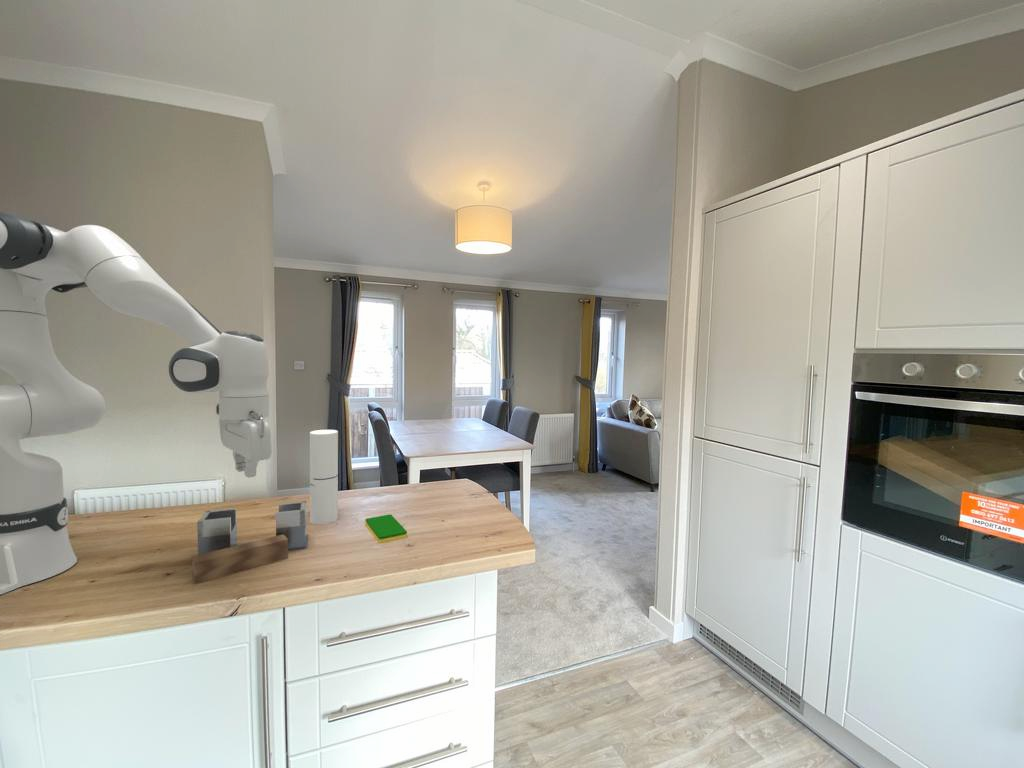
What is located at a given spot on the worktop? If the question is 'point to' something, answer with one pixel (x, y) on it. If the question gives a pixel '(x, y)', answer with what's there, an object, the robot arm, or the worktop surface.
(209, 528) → the bracket stand
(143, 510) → the worktop surface
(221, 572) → the rail
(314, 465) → the cylindrical container
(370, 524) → the dish sponge
